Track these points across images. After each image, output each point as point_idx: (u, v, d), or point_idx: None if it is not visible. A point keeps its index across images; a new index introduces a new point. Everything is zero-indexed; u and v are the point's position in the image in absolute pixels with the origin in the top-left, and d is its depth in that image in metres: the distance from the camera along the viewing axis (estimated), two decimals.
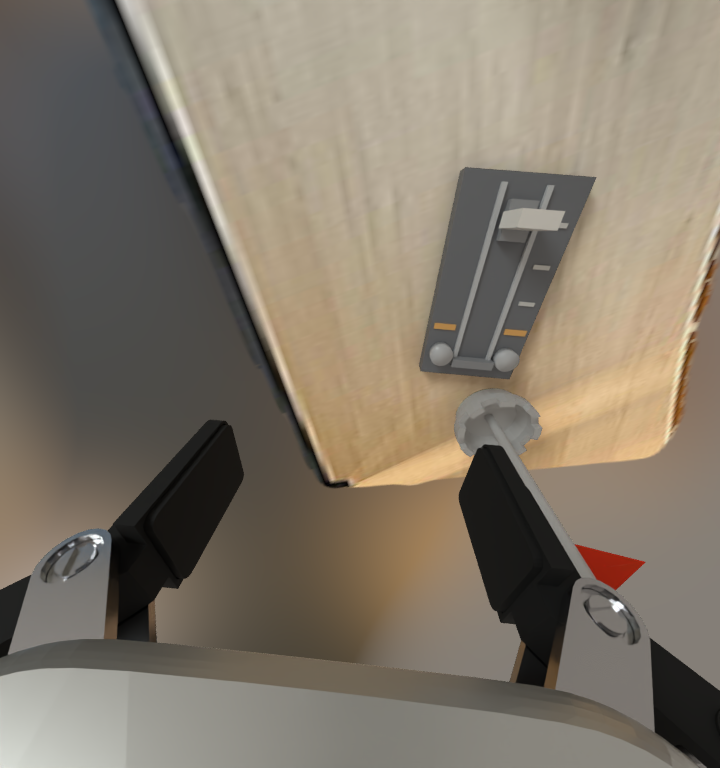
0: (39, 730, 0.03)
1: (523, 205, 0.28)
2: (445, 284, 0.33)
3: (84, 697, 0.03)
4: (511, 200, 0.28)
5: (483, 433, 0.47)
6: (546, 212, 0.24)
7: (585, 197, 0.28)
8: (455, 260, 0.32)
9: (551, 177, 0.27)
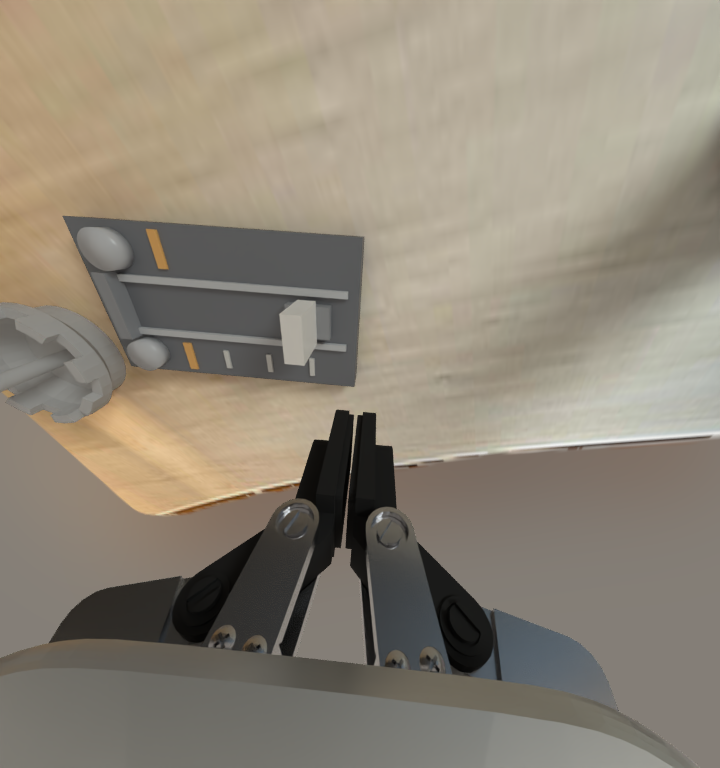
0: (39, 730, 0.03)
1: (323, 323, 0.23)
2: (218, 237, 0.21)
3: (84, 697, 0.03)
4: (328, 308, 0.22)
5: (38, 354, 0.30)
6: (300, 345, 0.19)
7: (338, 383, 0.27)
8: (254, 247, 0.21)
9: (353, 346, 0.25)
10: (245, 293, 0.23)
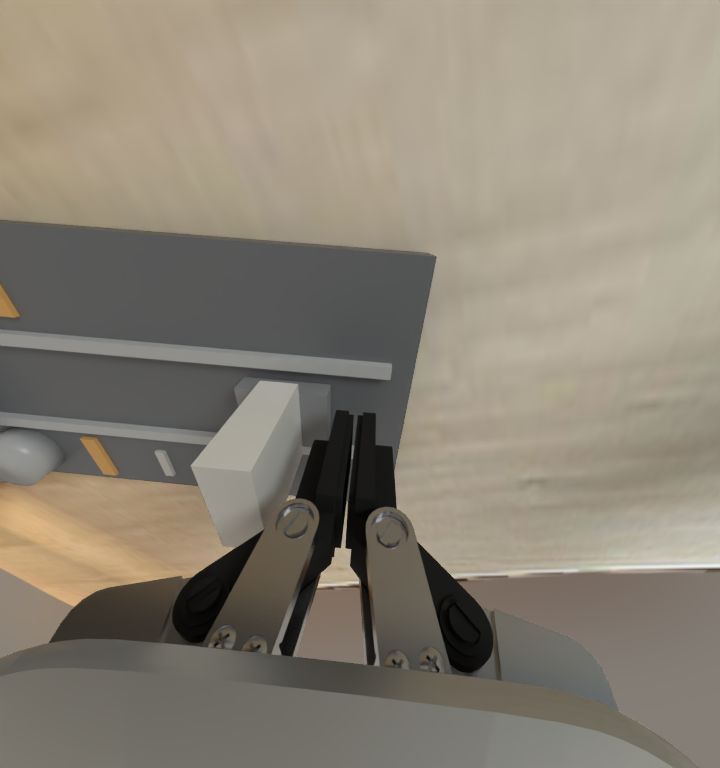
0: (39, 730, 0.03)
1: (315, 421, 0.11)
2: (109, 254, 0.09)
3: (84, 697, 0.03)
4: (324, 395, 0.11)
5: None
6: (255, 521, 0.08)
7: None
8: (190, 276, 0.10)
9: None
10: (183, 362, 0.12)
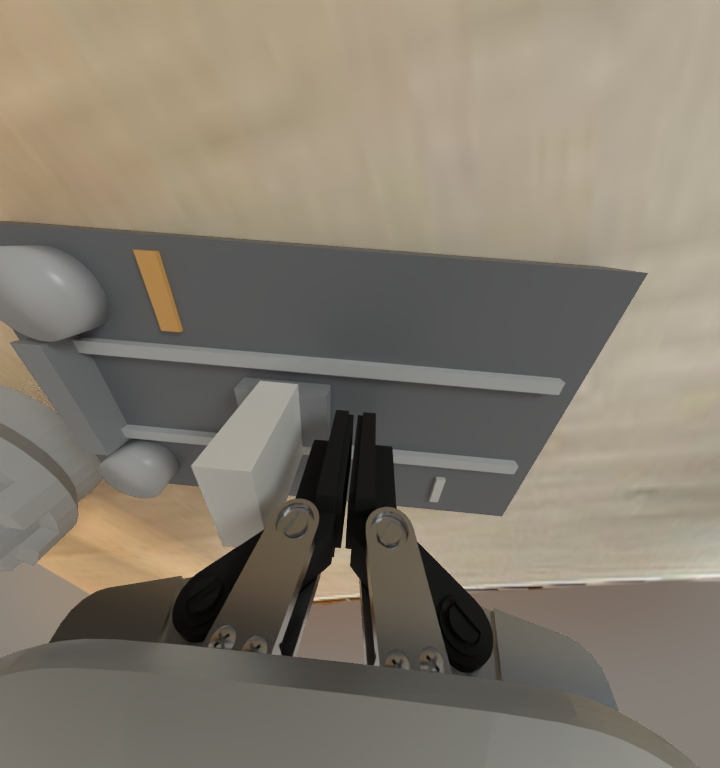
0: (39, 730, 0.03)
1: (315, 421, 0.11)
2: (300, 269, 0.09)
3: (84, 697, 0.03)
4: (323, 395, 0.11)
5: None
6: (255, 521, 0.08)
7: (474, 510, 0.16)
8: (378, 292, 0.09)
9: (527, 464, 0.13)
10: (338, 376, 0.11)
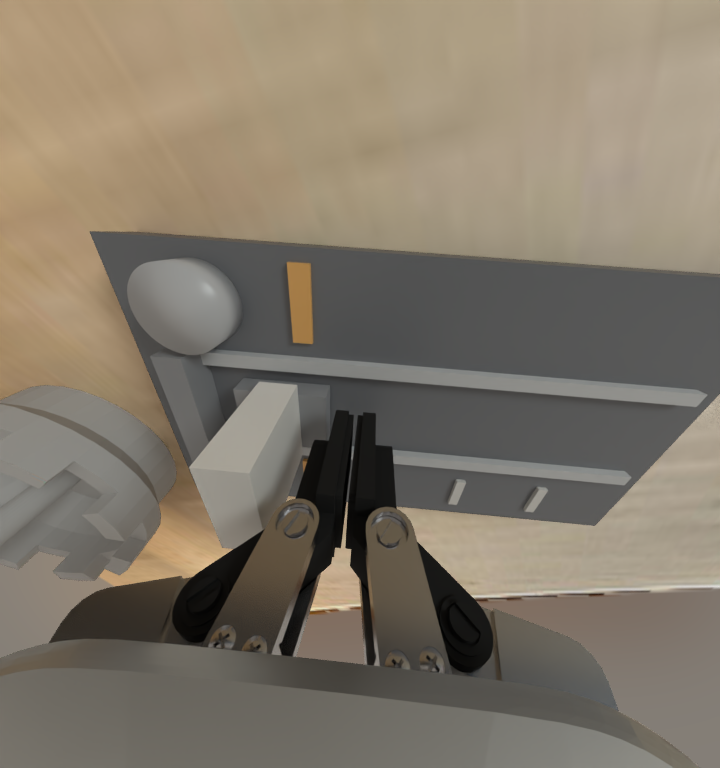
0: (39, 730, 0.03)
1: (315, 422, 0.11)
2: (454, 281, 0.09)
3: (84, 697, 0.03)
4: (323, 396, 0.11)
5: None
6: (254, 522, 0.08)
7: (567, 520, 0.15)
8: (530, 304, 0.09)
9: (637, 474, 0.13)
10: (463, 388, 0.11)
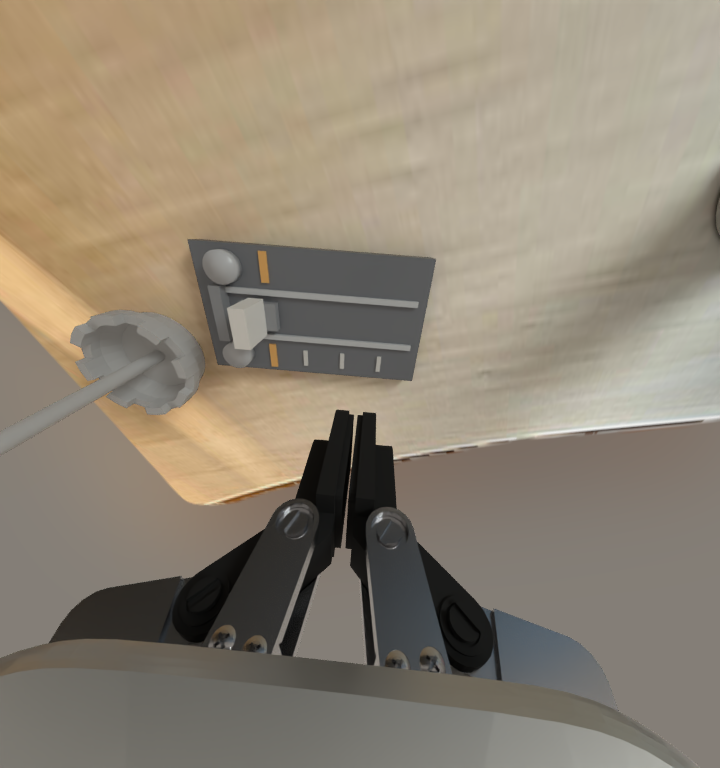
0: (39, 730, 0.03)
1: (271, 317, 0.28)
2: (317, 258, 0.26)
3: (84, 697, 0.03)
4: (273, 304, 0.27)
5: (130, 354, 0.34)
6: (245, 333, 0.24)
7: (398, 378, 0.32)
8: (345, 266, 0.26)
9: (416, 346, 0.30)
10: (331, 302, 0.28)
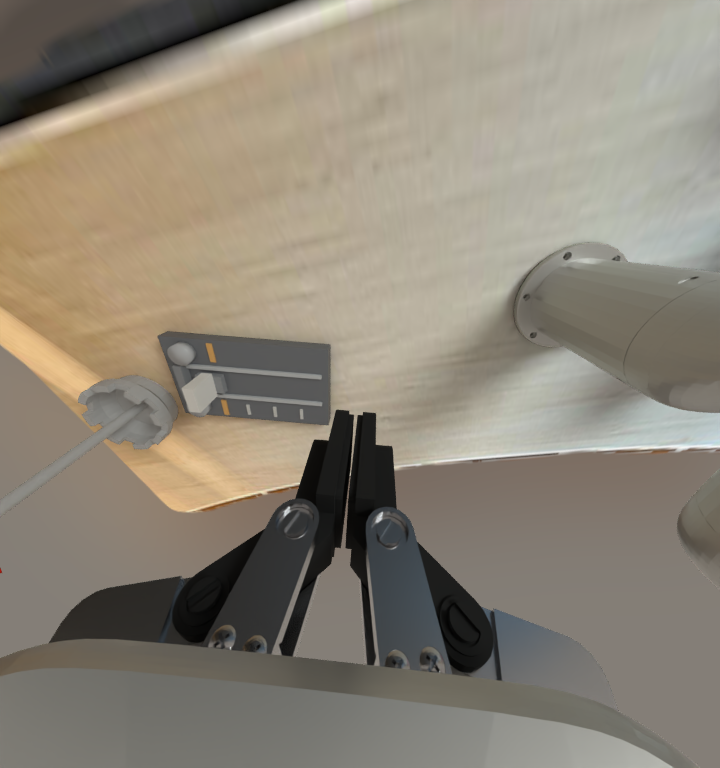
0: (39, 731, 0.03)
1: (219, 384, 0.39)
2: (247, 347, 0.37)
3: (84, 698, 0.03)
4: (219, 376, 0.39)
5: (122, 404, 0.45)
6: (196, 402, 0.36)
7: (318, 423, 0.43)
8: (267, 353, 0.37)
9: (326, 403, 0.41)
10: (261, 374, 0.39)
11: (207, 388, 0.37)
